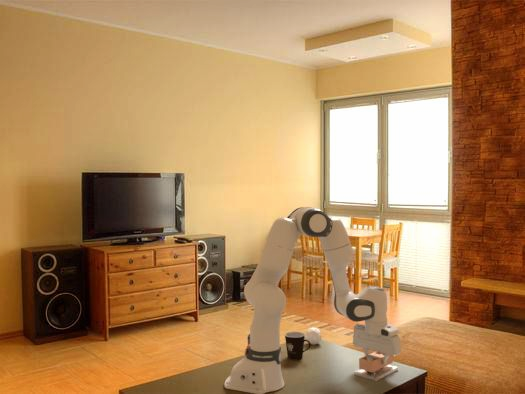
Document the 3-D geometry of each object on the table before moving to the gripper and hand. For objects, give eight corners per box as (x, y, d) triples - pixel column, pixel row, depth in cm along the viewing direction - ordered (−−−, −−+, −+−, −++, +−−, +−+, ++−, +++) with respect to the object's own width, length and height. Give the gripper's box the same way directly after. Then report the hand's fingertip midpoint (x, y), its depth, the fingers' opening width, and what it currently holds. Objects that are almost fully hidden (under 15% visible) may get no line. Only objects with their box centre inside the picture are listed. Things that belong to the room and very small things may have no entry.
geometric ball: (316, 348, 252) (325, 334, 254) (315, 347, 245) (324, 332, 246) (302, 339, 254) (311, 325, 256) (301, 338, 247) (310, 323, 249)
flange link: (372, 372, 205) (372, 362, 205) (359, 368, 209) (359, 358, 209) (392, 362, 215) (392, 352, 215) (379, 359, 220) (379, 349, 219)
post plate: (376, 381, 203) (376, 361, 203) (354, 374, 210) (354, 355, 210) (398, 370, 214) (397, 351, 214) (376, 364, 221) (376, 346, 221)
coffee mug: (281, 356, 234) (281, 333, 233) (299, 353, 237) (298, 330, 237) (294, 364, 223) (294, 340, 223) (312, 360, 227) (312, 337, 226)
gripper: (349, 324, 217) (349, 357, 217) (394, 333, 202) (394, 369, 203) (358, 321, 221) (358, 354, 221) (402, 330, 207) (403, 365, 207)
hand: (376, 361), depth 212 cm, fingers closed on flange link, 6 cm apart
